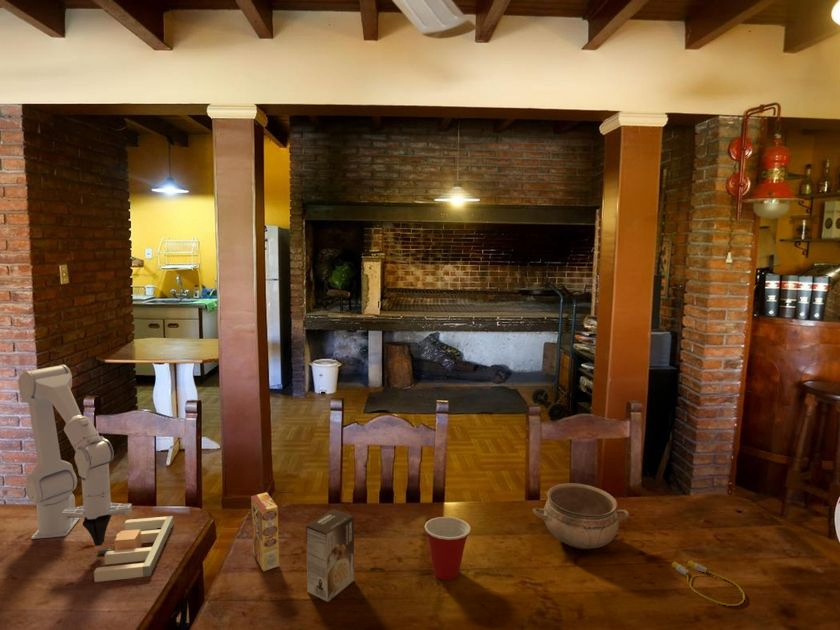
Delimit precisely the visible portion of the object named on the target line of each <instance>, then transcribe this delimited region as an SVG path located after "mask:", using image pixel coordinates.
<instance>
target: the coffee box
mask: <svg viewBox="0 0 840 630" xmlns="http://www.w3.org/2000/svg"><path fill="white" fill-rule="evenodd" d="M354 521H355V518H354V515H352V514H349V513H347V512H343V511H341V510H338V509H335V508H332V509H331V510H329V511H327V512H326V513H325V514H322V515H321V516H319V517H318V518H316V519H314V520H312V521H311V522H310V523H308V524H306V525H305V526H306V527H305V529H306V531H305V532H306V536H305V537H306V538H305V539H306V583H307V584H306V586H307V587H306V589H307V591H306V592H307V593H309V594H311V595H313V596H315V597H317V598H318V599H321V600H323V601H325V602H326V603H327V602H330V601H331V600H332V599H333V598H335V597H336V596H337V595H338V594H340V593H341V592H342V591H343V590H344V589H346V588H347V587H348V586H349V585H350V584H352V583H353V582H354V581H355V525H354Z"/></svg>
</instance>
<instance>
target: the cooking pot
mask: <svg viewBox="0 0 840 630" xmlns="http://www.w3.org/2000/svg"><path fill="white" fill-rule="evenodd" d="M617 508H618V502H617V499H616V498H614V496H613V495H611V494H610V493H608V492H607V491H605V490H603V489H601V488H598V487H595V486H592V485H587V484H584V483H583V484H582V483H573V482H572V483H561V484H560V483H559V484H557V485H554V486H551V488H549V489H548V491H547V500H546V502H545V504H544V508H538V507H534V508H533V509H532V513H533V514H534V515H535V516H536V517H538V518H540V519H542V520H543V521H544V523H545V525H546V528H547V529H548V531H549V532H550V533H551V534H552V536H554V537H555V538H556V539H557V540H558V541H560V542H562V543H563V544H566V545H568V546H570V547H571V548H573V549H578V550H591V549H598V548H601V547H604V546H606V545H608V544H610V543H611V542H612V541H613V540H614V539H615V537H616V536H617V534H618V531H619V527H620V522H622V521H624V520H626V519H627V518H628V517H629V516H630V513H629V512H628V511H627V510H626V509H617ZM616 509H617V510H616ZM619 514H620V515H621V514H624V515H621V516H619Z"/></svg>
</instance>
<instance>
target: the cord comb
mask: <svg viewBox="0 0 840 630" xmlns="http://www.w3.org/2000/svg"><path fill="white" fill-rule="evenodd" d="M173 526H174V516H173V515H169V516H159V517H157V516H156V517H155V516H154V517H144V518H134V519H126V520H125V522H124V530H138V529H141V544H146V543H153V545H152V546H148V547H147V546H146V547H141V548H136V549H125V550H115V551H107V552H106V553H105V554H104V564H105V565H107V566H99V567H96V568H95V570H94V571H93V577H94V583H100V582H106V581H108V582H109V581H116V580H125V579H134V578H135V579H136V578H144V577H150V576H151V575H152V573H153V571H154V569H155V566H156V564H157V561H158V560H159V557H160V556H161V553H162V550H163V548H164V546H165V544H166V541H167V540H168V537H169V535H170V534H171V531H172V529H173ZM157 528H161V529H157ZM171 528H172V529H171ZM119 533H120V532H117V534H116V536H115V539H116V538H117V536H118V535H119ZM143 561H144V562H143ZM134 562H136V563H134ZM137 562H140V563H137ZM123 563H127V564H123ZM128 563H129V564H128ZM130 563H131V564H130ZM117 564H119V565H117ZM120 564H121V565H120ZM108 565H111V566H108Z"/></svg>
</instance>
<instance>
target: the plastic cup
mask: <svg viewBox="0 0 840 630" xmlns="http://www.w3.org/2000/svg"><path fill="white" fill-rule="evenodd" d="M423 527H424V530H425V532H426V535H427V539H428V544H429V550H430V560H431V562H432V563H431V564H432V569H433V574H434V576H435V577H436V578H437V579H439V580H442V581H452V580H455V579H456V578H457V577H458V576H459V573H460V567H461V565H462V559H463V556H464V550H465V546H466V541H467V538H468V536H469V534H470V533H471V526H470V525H469V523H468V522H466V521H465V520H463V519H460V518H456V517H452V516H451V517H450V516H441V517H435V518H431V519H429V520H428V521H426V522H425V525H424V526H423Z"/></svg>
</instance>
